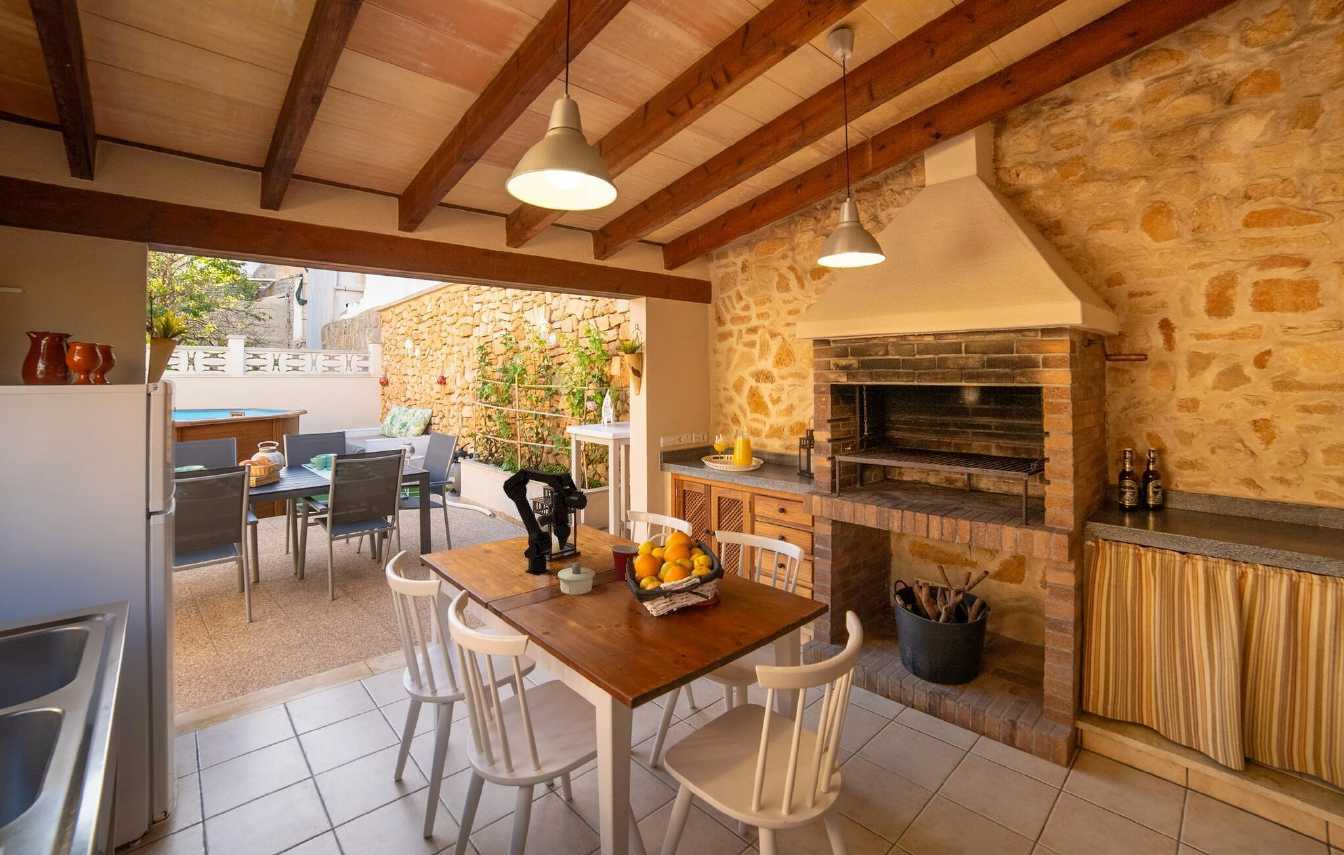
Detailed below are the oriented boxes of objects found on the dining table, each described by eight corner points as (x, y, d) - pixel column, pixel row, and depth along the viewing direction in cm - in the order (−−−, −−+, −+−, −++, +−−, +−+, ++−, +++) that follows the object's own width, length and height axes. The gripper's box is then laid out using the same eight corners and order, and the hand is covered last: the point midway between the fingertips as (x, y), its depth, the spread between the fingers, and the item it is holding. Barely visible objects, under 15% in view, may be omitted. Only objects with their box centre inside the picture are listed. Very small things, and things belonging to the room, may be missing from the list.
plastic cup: (644, 579, 227) (645, 548, 226) (621, 585, 219) (622, 553, 218) (627, 571, 235) (628, 541, 234) (604, 577, 227) (605, 546, 226)
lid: (550, 577, 211) (550, 564, 211) (574, 567, 222) (574, 555, 222) (578, 584, 204) (578, 571, 204) (601, 574, 215) (602, 562, 215)
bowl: (554, 590, 212) (554, 576, 211) (574, 582, 221) (574, 568, 221) (578, 597, 206) (578, 583, 206) (597, 588, 215) (598, 574, 215)
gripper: (538, 501, 230) (538, 540, 232) (539, 512, 212) (539, 554, 213) (567, 500, 233) (567, 539, 234) (571, 511, 215) (570, 553, 216)
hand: (560, 546), depth 224 cm, fingers open, 9 cm apart
